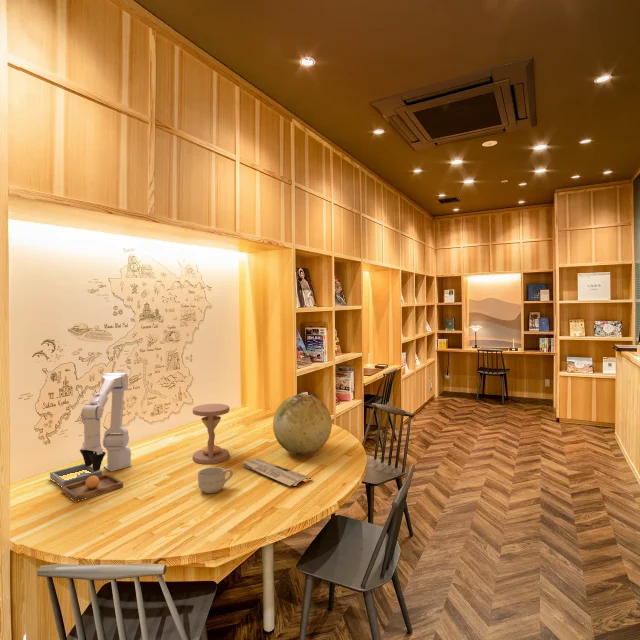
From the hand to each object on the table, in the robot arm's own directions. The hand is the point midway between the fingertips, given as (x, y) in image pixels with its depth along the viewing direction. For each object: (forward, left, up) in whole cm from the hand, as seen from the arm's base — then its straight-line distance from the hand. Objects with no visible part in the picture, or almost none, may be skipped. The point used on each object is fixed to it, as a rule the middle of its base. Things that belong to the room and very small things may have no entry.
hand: (92, 468), depth 168 cm
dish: (0, -17, -9) cm, 19 cm away
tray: (0, 0, -9) cm, 9 cm away
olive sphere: (-87, +36, -9) cm, 95 cm away
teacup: (-32, +38, -9) cm, 51 cm away
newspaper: (-58, +44, -10) cm, 74 cm away
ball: (0, 0, -6) cm, 6 cm away
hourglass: (-53, +6, -9) cm, 54 cm away
